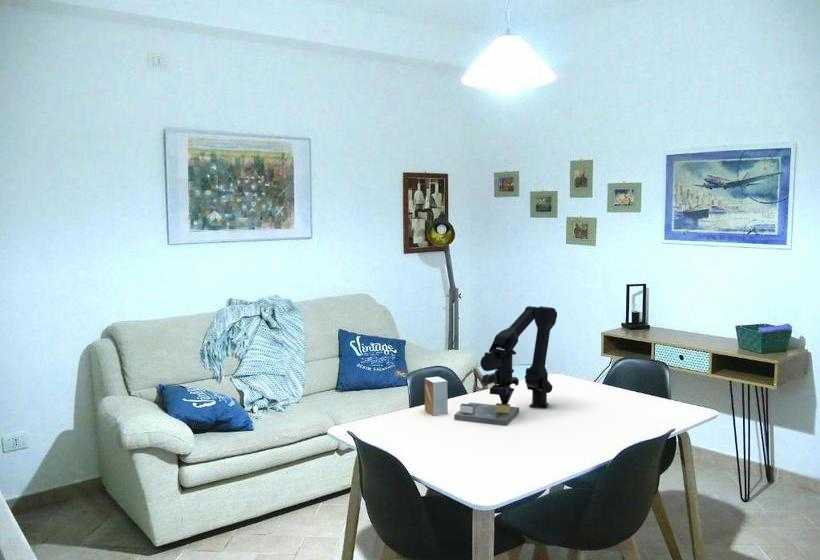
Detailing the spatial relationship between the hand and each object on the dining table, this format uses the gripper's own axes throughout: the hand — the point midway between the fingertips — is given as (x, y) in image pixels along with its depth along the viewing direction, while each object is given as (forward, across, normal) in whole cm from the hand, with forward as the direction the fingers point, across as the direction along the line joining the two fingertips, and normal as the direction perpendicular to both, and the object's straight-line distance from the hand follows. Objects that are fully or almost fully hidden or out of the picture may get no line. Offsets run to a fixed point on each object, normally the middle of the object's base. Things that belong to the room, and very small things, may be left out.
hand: (504, 407), depth 274 cm
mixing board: (+3, +3, -6) cm, 7 cm away
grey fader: (+1, +8, -12) cm, 14 cm away
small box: (+3, +5, -26) cm, 27 cm away
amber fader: (+1, +3, 0) cm, 3 cm away
